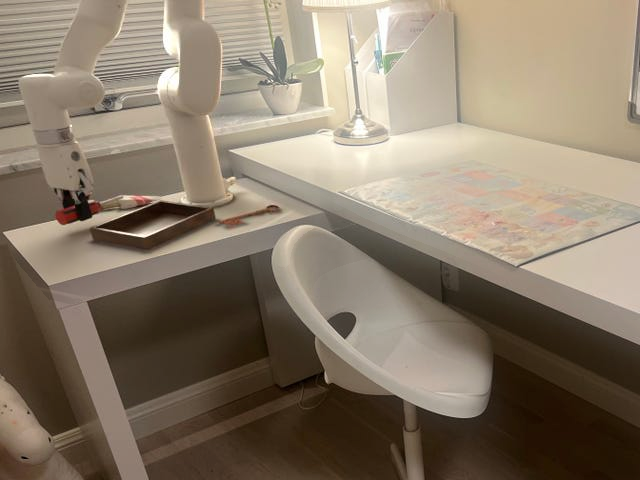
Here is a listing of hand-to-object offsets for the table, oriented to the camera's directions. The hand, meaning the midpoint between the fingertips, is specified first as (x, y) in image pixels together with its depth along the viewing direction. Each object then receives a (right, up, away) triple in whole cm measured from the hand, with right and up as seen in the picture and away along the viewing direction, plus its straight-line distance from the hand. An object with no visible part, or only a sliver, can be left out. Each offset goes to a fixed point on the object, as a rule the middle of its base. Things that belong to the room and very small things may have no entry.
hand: (79, 217), depth 166 cm
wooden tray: (+17, -3, 0) cm, 18 cm away
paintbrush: (+2, +5, +16) cm, 17 cm away
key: (+37, +1, +6) cm, 38 cm away
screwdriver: (+2, +2, +3) cm, 4 cm away
